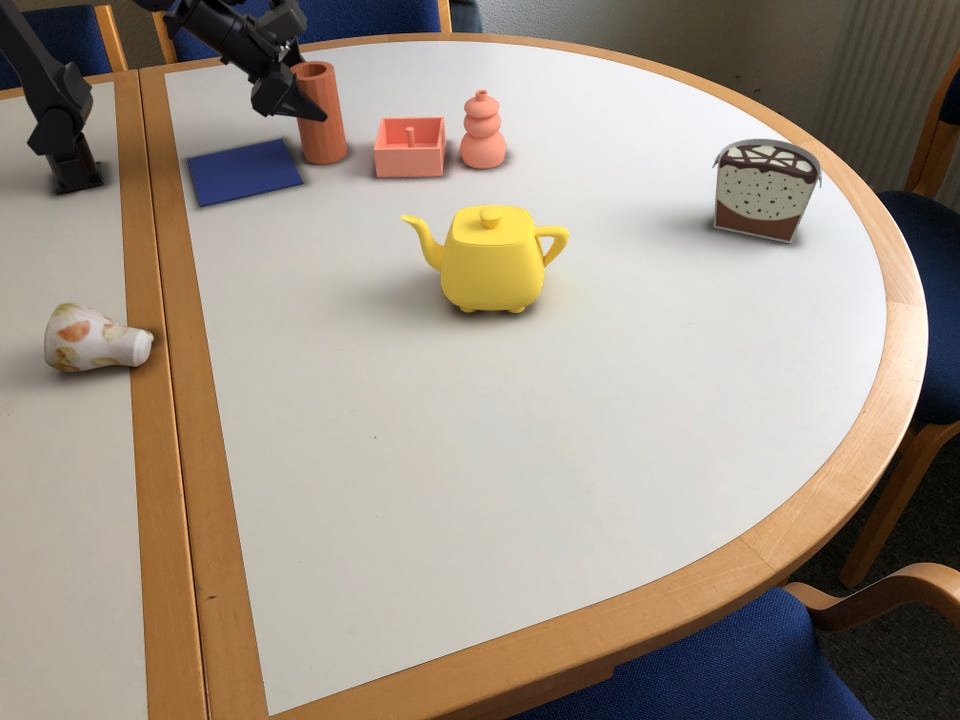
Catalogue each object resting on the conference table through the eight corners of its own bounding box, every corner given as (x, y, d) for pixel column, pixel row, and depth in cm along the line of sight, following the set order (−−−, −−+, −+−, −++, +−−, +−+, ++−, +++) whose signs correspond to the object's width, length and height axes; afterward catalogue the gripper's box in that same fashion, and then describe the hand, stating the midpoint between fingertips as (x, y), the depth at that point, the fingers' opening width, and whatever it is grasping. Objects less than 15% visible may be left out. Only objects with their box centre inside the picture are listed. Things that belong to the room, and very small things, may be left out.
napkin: (187, 160, 116) (187, 158, 116) (282, 140, 119) (282, 138, 119) (200, 207, 106) (200, 205, 106) (303, 183, 110) (302, 182, 110)
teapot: (403, 322, 87) (392, 241, 80) (415, 262, 95) (406, 184, 88) (567, 324, 86) (571, 242, 79) (565, 264, 94) (569, 184, 87)
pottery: (377, 177, 110) (367, 110, 104) (385, 144, 117) (376, 79, 111) (506, 175, 110) (505, 108, 103) (506, 142, 117) (505, 77, 110)
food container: (811, 220, 99) (833, 147, 92) (803, 246, 95) (826, 172, 88) (712, 200, 103) (726, 129, 96) (701, 224, 99) (714, 152, 92)
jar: (297, 162, 114) (279, 77, 106) (315, 141, 119) (299, 59, 110) (337, 166, 113) (322, 81, 105) (353, 145, 117) (340, 62, 109)
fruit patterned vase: (155, 384, 82) (70, 334, 75) (94, 402, 86) (9, 357, 79) (174, 324, 86) (96, 272, 79) (115, 345, 90) (36, 297, 83)
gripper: (257, 7, 92) (364, 89, 101) (263, -42, 106) (357, 34, 114) (206, 79, 97) (313, 152, 105) (218, 24, 110) (312, 92, 119)
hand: (325, 104), depth 111 cm, fingers open, 9 cm apart
